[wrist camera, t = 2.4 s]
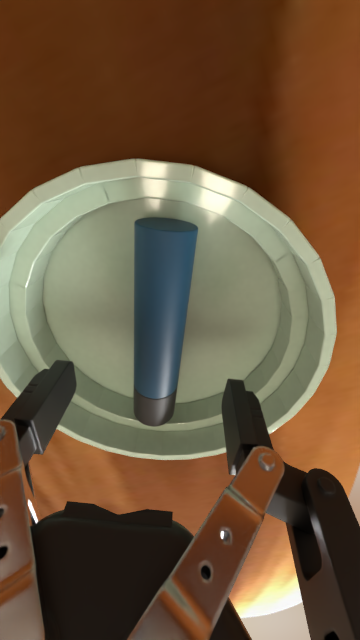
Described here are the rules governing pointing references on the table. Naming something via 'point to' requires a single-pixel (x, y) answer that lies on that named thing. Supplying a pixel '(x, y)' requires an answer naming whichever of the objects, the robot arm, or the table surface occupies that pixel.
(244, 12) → the table surface
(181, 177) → the bowl
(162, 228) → the marker
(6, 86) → the table surface
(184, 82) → the table surface
